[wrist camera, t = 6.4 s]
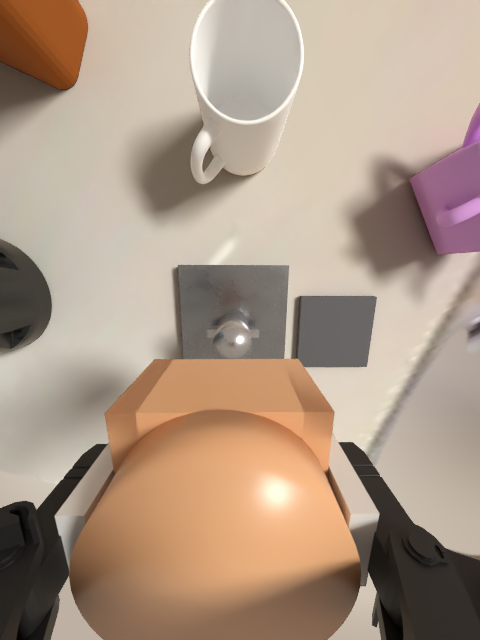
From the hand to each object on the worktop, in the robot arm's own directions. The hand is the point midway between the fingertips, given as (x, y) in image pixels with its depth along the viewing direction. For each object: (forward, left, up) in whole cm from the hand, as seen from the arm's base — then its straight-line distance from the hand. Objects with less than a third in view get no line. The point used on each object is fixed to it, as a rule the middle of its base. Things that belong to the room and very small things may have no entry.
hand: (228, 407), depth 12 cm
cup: (0, +21, -19) cm, 28 cm away
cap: (0, 0, +1) cm, 1 cm away
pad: (+14, -1, -19) cm, 24 cm away
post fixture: (0, 0, -19) cm, 19 cm away
